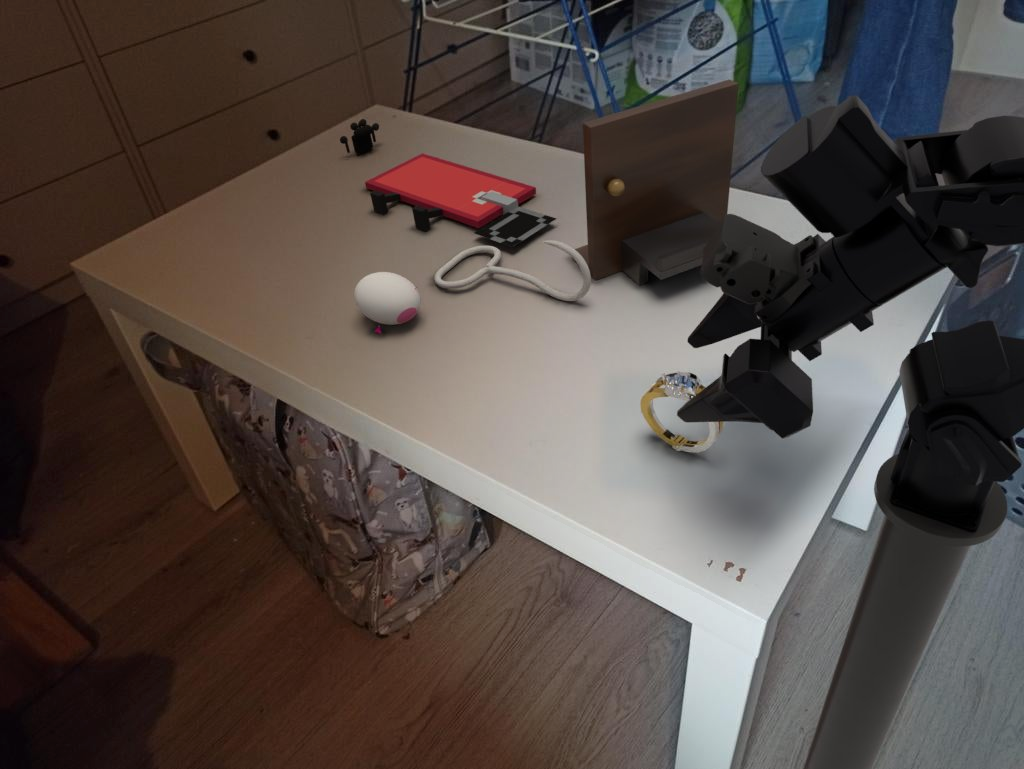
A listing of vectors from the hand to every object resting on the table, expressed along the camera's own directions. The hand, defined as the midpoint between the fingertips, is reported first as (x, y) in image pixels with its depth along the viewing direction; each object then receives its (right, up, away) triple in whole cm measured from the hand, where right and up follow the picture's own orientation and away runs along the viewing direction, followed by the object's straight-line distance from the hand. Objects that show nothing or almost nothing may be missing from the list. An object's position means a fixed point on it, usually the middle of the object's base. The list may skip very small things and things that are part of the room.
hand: (686, 378), depth 64 cm
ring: (+1, -6, +5) cm, 8 cm away
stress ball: (-27, +7, +25) cm, 37 cm away
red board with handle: (-21, +24, +43) cm, 54 cm away
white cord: (-13, +11, +27) cm, 32 cm away
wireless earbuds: (-37, +35, +60) cm, 78 cm away
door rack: (+4, +14, +28) cm, 31 cm away
